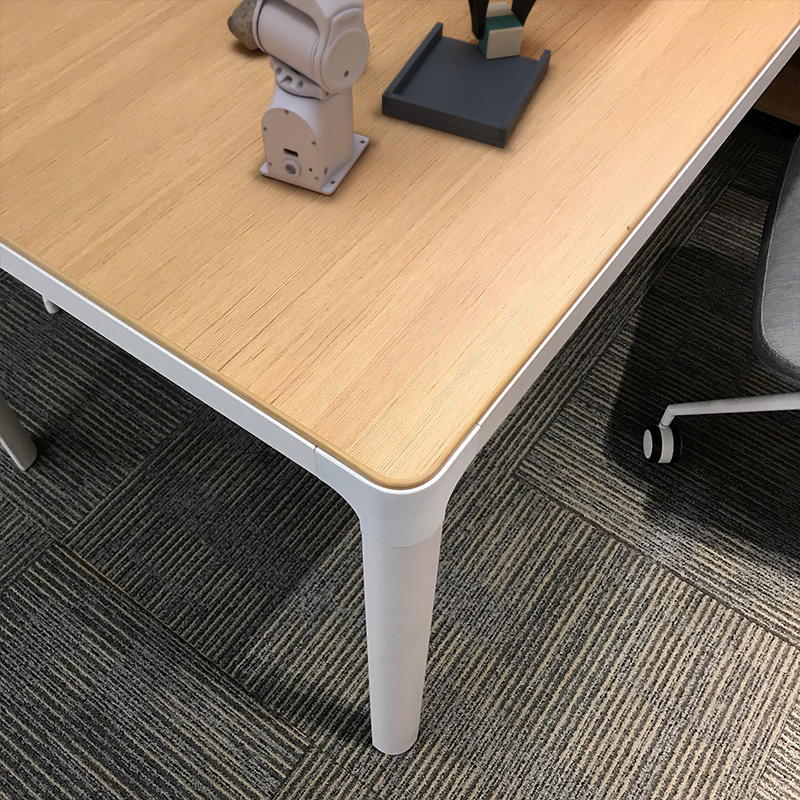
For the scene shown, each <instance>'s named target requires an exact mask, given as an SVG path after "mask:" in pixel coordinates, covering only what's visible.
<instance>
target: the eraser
mask: <svg viewBox="0 0 800 800" xmlns="http://www.w3.org/2000/svg"><path fill="white" fill-rule="evenodd" d="M470 26H471V28H470V33H471V35H472V36H473V38H474V39H475V42H476V43H477V45H478V46H479V47H480V49H481V51H482V52H483V54H484V56H485V57H486V58H487V59H494V58H501V57H508V56H515V55H521V48H522V41H523V35H524V30H525V29H524V27H523V26H522V24H521V23H520V21H519V20H518V18H517V17H516V16H515V14H514V13H513V12H512V11H511V7H510V6H509V4H508V3H507V1H499V2H491V3H490V2H489V5H488V9H487V14H486V24H485V31H484V35H483V39H480V40H478V39H476V37H475V35H474V34H473V32H472V24H471V25H470Z"/></svg>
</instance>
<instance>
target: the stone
mask: <svg viewBox="0 0 800 800" xmlns="http://www.w3.org/2000/svg"><path fill="white" fill-rule="evenodd" d="M256 4H257V0H242V1H241V2H240V3H239V4H238V6H236V7H235V8H234V9H233V11H232V14H231V15H230V16H229V17H228V18H227V27H228V30H229V32H230V33H231V34H232V35H233V36H234V37H235V38H236V39H238V40H239V41H240V42H241V43H242V44H243V45H244V47H245V48H246V49H248V50H252V51H255V50H257V49H260V48H259V46H258V45H257V43H256V42H255V39H254V36H253V30H252V21H253V15H254V11H255V8H256Z"/></svg>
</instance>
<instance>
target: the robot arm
mask: <svg viewBox="0 0 800 800" xmlns="http://www.w3.org/2000/svg"><path fill="white" fill-rule="evenodd" d="M490 1H491V0H467V3H468V8H469V13H470V21H471V25H472V32H473V34H474V35H475V37H476V39H478V40H480V39H483V35H484V31H485V24H486V14H487V9H488V5H489V4H490ZM536 2H537V0H512V1H511V6H510V9H511V11H512V12H513V13H514V14H515V16H516V17H517V18H518V20H519V21H520V23H521V24H522V26H523V28H524V26H525V24H526V22H527V19H528V17H529V15H530V13H531V11H532V10H533V8H534V6H535V4H536ZM364 8H365V3H364V0H257V4H256V8H255V11H254V15H253V21H252V30H253V36H254V39H255V42H256V43H257V45H258V46H259V48H258V49H260V50H261V51H262V52H264V53H266V54H268V61H269V67H270V68H271V69H272V70H273V74H274V75H273V76H274V90H273V94H272V95H273V96H272V98H271V101H270V103H269V105H268V107H267V108H266V110H265V112H264V113H263V114H262V118H261V122H260V124H261V125H260V126H261V127H260V128H261V134H262V141H263V147H264V148H263V149H264V155H265V162H264V163H263V165H262V166H261V167H260V168H259V172H260V174H261V175H263V176H266V177H269V178H272V179H275V180H278V181H282V182H285V183H289V184H292V185H295V186H298V187H301V188H305V189H308V190H311V191H314V192H318V193H320V194H324V195H327V196H329V195H332V194H333V193H334V192H335V190H336V189H337V188H338V187H339V185H340V183H341V182H342V181H343V179H344V178H345V177H346V175H347V174H348V173H349V171H350V170H351V169H352V167H353V166H354V164H355V163H356V162H357V160H358V159H359V157H360V156H361V155H362V154H363V152H364V151H365V149H366V148H367V147H368V145H369V144H370V138H369V137H368V136H366V135H361V134H358V133H355V130H354V126H355V125H354V96H353V94H354V93H353V92H354V91H353V85H354V84H355V83H356V82H358V80H359V79H360V77H361V76H362V74H363V73H364V71H365V69H366V66H367V64H368V60H369V57H370V56H369V55H370V49H371V47H370V46H371V41H370V35H369V32H368V30H367V28H366V25H365V20H364V19H365V18H364V14H365V13H364V12H365V11H364V10H365V9H364Z"/></svg>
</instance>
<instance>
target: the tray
mask: <svg viewBox="0 0 800 800" xmlns="http://www.w3.org/2000/svg"><path fill="white" fill-rule="evenodd" d="M443 32H444V23H443V22H439V21H437V22H436V23H435V24H434V26H433V27H432V28H431V30H430V31H429V32H428V33H427V35H426V36H425V37H424V39H423V40H422V41H421V43H420V44H419V45H418V47H417V48H416V50H414V52H413V53H412V54H411V56H410V57H409V58H408V59H407V61H406V63H405V64H404V65H403V66H402V68H401V69H400V71H399V72H398V73H397V75H396V76H395V77H394V78H393V80H391V82H390V83H389V85H388V86H387V88H386V89H385V90H384V92H383V93H382V94H381V114H382V115H386V116H389V117H393V118H395V119H396V118H397V119H400V120H403V121H407V122H410V123H413V124H417V125H421V126H425V127H427V128H432V129H435V130H438V131H442V132H445V133H449V134H452V135H456V136H460V137H463V138H467V139H471V140H474V141H478V142H480V143H485V144H488V145H491V146H494V147H495V146H496V147H498V148H502V149H504V148H505V147H506V145H507V143H508V141H509V140H510V138H511V136H512V134H513V132H514V131H515V129H516V127H517V125H518V123H519V122H520V119H521V118H522V116H523V115H524V113H525V111H526V110H527V108H528V106H529V104H530V102H531V100H532V98H533V97H534V95H535V93H536V91H537V90H538V87H539V86H540V84H541V82H542V81H543V79H544V77H545V76H546V73H547V72H548V70H549V67H550V61H551V56H552V50H551V49H548V48H544V50H543V51H542V53H541V55H540V57H539V59H535V58H531V57H528V56H523V55H521V54H519V55H515V56H508V57H501V58H494V59H487V58H486V57H485V56H484V54H483V52H482V51H481V49H480V47H479V46H478V43H477V44H476V43H474V42H473V43H472V42H468V41H464V40H460V39H456V38H453V37H449V36H444V35H443Z"/></svg>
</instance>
